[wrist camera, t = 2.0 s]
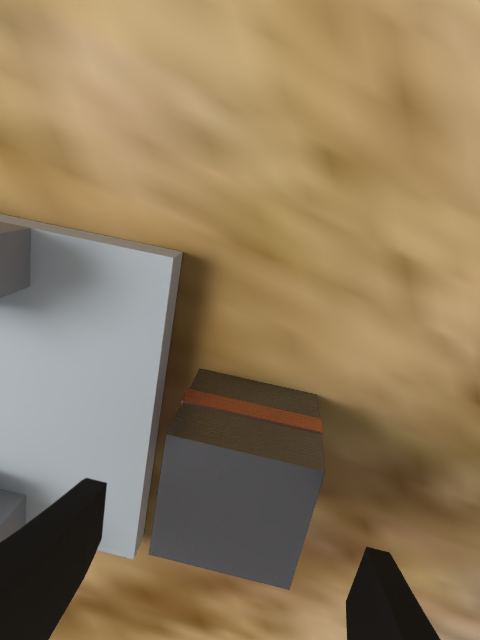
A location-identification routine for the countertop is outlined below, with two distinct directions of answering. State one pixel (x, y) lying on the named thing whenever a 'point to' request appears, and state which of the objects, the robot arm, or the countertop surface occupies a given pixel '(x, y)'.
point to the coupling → (239, 478)
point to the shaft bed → (81, 371)
